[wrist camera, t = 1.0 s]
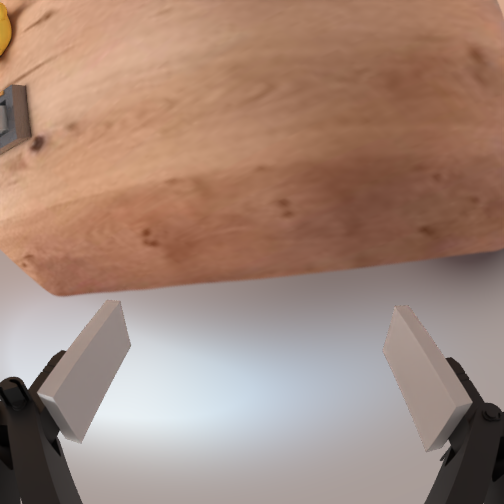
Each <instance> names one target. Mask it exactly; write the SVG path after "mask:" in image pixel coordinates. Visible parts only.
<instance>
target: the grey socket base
mask: <svg viewBox="0 0 504 504" xmlns="http://www.w3.org/2000/svg"><path fill="white" fill-rule="evenodd" d="M0 106H6V113H7V122H8V130H9V132H8V133H6V134H5V135H3V136H2V137H0V154H2V153H4V152H5V151H7V150H9V149H10V148H12V147H14V146H16V145H18V144H19V143H21V142H23V141H25V140H27V139H29V138H31V131H30V124H29V116H28V107H27V97H26V86H22V85H10V86H9V87H8V88H6V89H5V90H3V91H1V92H0Z"/></svg>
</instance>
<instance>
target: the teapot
mask: <svg viewBox="0 0 504 504" xmlns="http://www.w3.org/2000/svg"><path fill="white" fill-rule="evenodd" d="M11 34H12V31H11V24H10V21H9V18H8V16H7V9H6V7H5V5H4V4H3V3H1V2H0V56H1V55H2V53H3V52H4V50H5V49H6V47H7V45H8V44H9V42H10V39H11Z"/></svg>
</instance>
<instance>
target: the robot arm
mask: <svg viewBox="0 0 504 504" xmlns="http://www.w3.org/2000/svg"><path fill="white" fill-rule="evenodd" d="M130 347H131V344H130V340H129V336H128V332H127V328H126V323H125V319H124V315H123V311H122V306H121V301H115V300H114V301H113V300H107V301H106V302H105V303H104V304H103V305H102V307H101V308H100V309H99V310H98V312H97V313H96V314H95V315H94V317H93V318H92V319H91V321H90V322H89V323H88V324H87V325H86V327H85V328H84V329H83V330H82V332H81V333H80V334H79V336H78V337H77V338H76V340H75V341H74V342H73V344H72V345H71V346H70V347H69V349H68V350H67V351H64V350H61V351H60V352H59V353H57V354H56V355H54V356H53V357H52V358H51V360H50V361H49V362H48V364H47V366H45V368H44V369H43V372H41V373H40V375H39V376H38V377H37V378H36V380H35V381H34V382H33V384H32V385H31V387H30V388H29V389H27V388H26V386H25V384H24V382H23V381H22V380H21V379H20V378H18V377H9V378H7V379H4V380H3V381H2V382H0V400H1V401H0V504H21V503H20V497H21V501H22V504H83V503H82V501H81V499H80V496H79V494H78V491H77V489H76V487H75V484H74V481H73V479H72V476H71V473H70V471H69V468H68V465H67V462H66V459H65V457H64V453H63V450H62V447H61V444H60V441H59V439H58V437H57V435H58V433H59V431H61V432H62V434H63V435H64V437H65V438H66V439H68V440H71V441H74V442H77V443H82V441H83V439H84V436H85V434H86V432H87V430H88V428H89V426H90V424H91V422H92V420H93V418H94V416H95V414H96V412H97V410H98V408H99V406H100V404H101V402H102V400H103V398H104V396H105V394H106V392H107V390H108V388H109V386H110V384H111V382H112V380H113V379H114V377H115V374H116V373H117V371H118V369H119V367H120V365H121V363H122V362H123V360H124V358H125V356H126V354H127V352H128V350H129V349H130ZM383 353H384V355H385V357H386V359H387V361H388V363H389V366H390V368H391V370H392V372H393V374H394V377H395V379H396V381H397V383H398V386H399V388H400V390H401V392H402V395H403V397H404V399H405V402H406V404H407V406H408V409H409V411H410V413H411V416H412V418H413V421H414V423H415V425H416V428H417V430H418V433H419V435H420V438H421V441H422V443H423V446H424V448H425V451H426V452H429V451H432V450H436V449H439V448H442V447H443V445H444V444H445V443H446V441H447V440H448V439H449V441H450V444H451V446H450V448H449V449H448V450H447V451H446V453H445V454H444V455H443V456H442V458H441V459H440V461H442V460H443V459H444V458H445V459H444V461H443V464H442V466H441V469H440V471H439V473H438V476H437V478H436V480H435V483H434V485H433V487H432V489H431V491H430V493H429V495H428V497H427V500H426V501H425V503H424V504H483V503H484V504H504V412H502V411H501V409H500V408H498V406H496V405H494V404H492V403H485V402H484V401H483V399H482V397H481V396H480V394H479V393H478V391H477V389H476V388H475V387H474V385H473V383H472V382H471V381H470V380H469V377H468V376H467V374H465V371H464V370H463V368H462V367H461V365H460V364H459V363H458V362H457V361H455V360H454V359H453V358H451V357H450V358H445V357H444V356H443V354H442V353H441V351H440V350H439V348H438V347H437V345H436V344H435V342H434V341H433V339H432V338H431V336H430V335H429V334H428V332H427V331H426V329H425V328H424V326H423V325H422V324H421V322H420V321H419V319H418V318H417V317H416V315H415V314H414V312H413V311H412V310H411V308H410V307H409V306H408V305H404V306H395V307H394V311H393V315H392V319H391V323H390V326H389V330H388V334H387V337H386V341H385V345H384V348H383Z"/></svg>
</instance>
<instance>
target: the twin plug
mask: <svg viewBox="0 0 504 504" xmlns="http://www.w3.org/2000/svg"><path fill="white" fill-rule="evenodd" d="M8 132H9V130H8V122H7V113H6V106H0V137H2V136H3V135H5V134H6V133H8Z"/></svg>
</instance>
